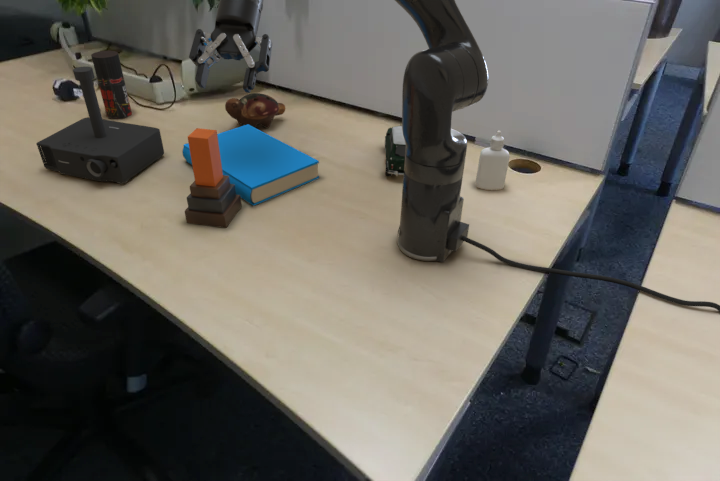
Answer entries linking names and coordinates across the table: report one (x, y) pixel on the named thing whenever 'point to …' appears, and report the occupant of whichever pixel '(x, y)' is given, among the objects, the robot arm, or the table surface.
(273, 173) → the book
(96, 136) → the projector
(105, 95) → the deodorant
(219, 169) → the bar
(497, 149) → the eye dropper bottle
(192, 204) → the brown stepped pyramid
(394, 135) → the miniature car
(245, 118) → the decorative turtle
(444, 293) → the table surface
